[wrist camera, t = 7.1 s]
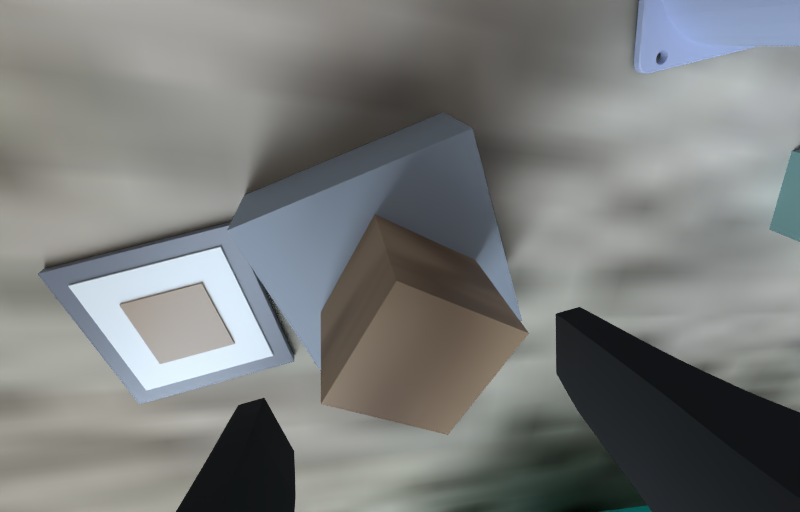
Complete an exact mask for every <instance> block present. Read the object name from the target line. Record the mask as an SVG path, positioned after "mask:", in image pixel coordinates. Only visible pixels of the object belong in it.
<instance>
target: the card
mask: <svg viewBox="0 0 800 512" xmlns="http://www.w3.org/2000/svg"><path fill="white" fill-rule="evenodd" d="M230 223H231V222H228V223H224V224H220V225H216V226H212V227H208V228H204V229H200V230H196V231H192V232H188V233H184V234H181V235H177V236H173V237H169V238H165V239H161V240H157V241H153V242H149V243H145V244H141V245H137V246H133V247H129V248H125V249H121V250H117V251H113V252H109V253H105V254H101V255H97V256H93V257H90V258H86V259H82V260H78V261H74V262H70V263H66V264H62V265H58V266H54V267H50V268H46V269H43V270H42V271H41V272H39V273H38V275H39V276H40V278H41V279H42V280H43V281H44V283H45V284H46V285H47V287H48V288H49V289H50V290H51V292H52V293H53V294H54V296H55V297H56V298H57V299H58V301H59V302H60V303H61V305H62V306H63V307H64V308H65V310H66V311H67V312H68V314H69V315H70V316H71V317H72V319H73V320H74V321H75V323H76V324H77V325H78V326H79V328H80V329H81V330H82V332H83V333H84V334H85V335H86V337H87V338H88V339H89V340H90V342H91V343H92V344H93V346H94V347H95V348H96V349H97V351H98V352H99V353H100V355H101V356H102V357H103V358H104V360H105V361H106V362H107V364H108V365H109V366H110V367H111V369H112V370H113V371H114V373H115V374H116V375H117V376H118V378H119V379H120V380H121V382H122V383H123V384H124V385H125V387H126V388H127V389H128V391H129V392H130V393H131V394H132V396H133V397H134V398H135V399H136V401H137V402H138V403H139V404H142V403H146V402H149V401H153V400H157V399H160V398H164V397H167V396H171V395H175V394H178V393H182V392H186V391H189V390H193V389H196V388H200V387H204V386H207V385H211V384H214V383H218V382H222V381H225V380H229V379H233V378H236V377H240V376H243V375H247V374H251V373H254V372H258V371H261V370H265V369H269V368H272V367H276V366H280V365H283V364H287V363H290V362H294V354H293V352H292V350H291V348H290V345H289V343H288V341H287V339H286V336H285V334H284V332H283V330H282V328H281V325H280V323H279V321H278V319H277V316H276V314H275V312H274V310H273V308H272V305H271V303H270V301H269V299H268V296H267V294H266V292H265V290H264V287H263V285H262V283H261V281H260V279H259V278H258V276H257V275H256V273H255V272H254V270H253V269H252V267H251V266H250V264H249V263H248V261H247V260H246V258H245V257H244V255H243V254H242V252H241V251H240V249H239V248H238V246H237V245H236V243H235V242H234V240H233V239H232V237H231V236H230V234H229V233H228V231H227V229H228V227H229V225H230Z"/></svg>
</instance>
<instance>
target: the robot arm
mask: <svg viewBox="0 0 800 512" xmlns="http://www.w3.org/2000/svg"><path fill="white" fill-rule="evenodd" d="M758 46H800V0H639V8H638V19H637V31H636V42H635V54H634V68H635V70H636V71H637V72H639V73H652V72H656V71H660V70H664V69H668V68H672V67H676V66H680V65H684V64H688V63H692V62H697V61H701V60H705V59H709V58H713V57H717V56H721V55H725V54H729V53H733V52H737V51H741V50H745V49H749V48H753V47H758ZM659 52H660V53H661V57H660V60H659V61H658V62H657V63H656V57H657V55H658V54H659ZM556 371H557V375H558V377H559V379H560V380H561V382H562V384H563V386H564V388H565V389H566V391H567V393H568V395H569V396H570V398H571V400H572V401H573V403H574V405H575V407H576V408H577V410H578V412H579V413H580V414H581V416H582V417H583V418H584V420H585V421H586V423H587V424H588V425H589V427H590V428H591V429H592V431H593V432H594V434H595V435H596V436H597V438H598V439H599V440H600V442H601V443H602V444H603V446H604V447H605V449H606V450H607V451H608V453H609V454H610V455H611V457H612V458H613V459H614V461H615V462H616V463H617V465H618V466H619V467H620V469H621V470H622V471H623V473H624V474H625V475H626V477H627V478H628V480H629V481H630V482H631V484H632V485H633V486H634V488H635V489H636V490H637V492H638V493H639V494H640V496H641V497H642V498H643V500H644V501H645V503H646V504H647V506H648V507H649V509H650V510H651V511H652V512H800V413H799V412H797V411H794V410H792V409H789V408H787V407H784V406H782V405H779V404H777V403H774V402H772V401H769V400H767V399H764V398H762V397H759V396H757V395H755V394H752V393H750V392H748V391H745V390H743V389H741V388H739V387H736V386H734V385H732V384H730V383H728V382H725V381H723V380H721V379H719V378H717V377H715V376H712V375H710V374H708V373H706V372H704V371H702V370H699V369H697V368H695V367H693V366H691V365H689V364H687V363H685V362H683V361H681V360H679V359H677V358H675V357H673V356H671V355H669V354H667V353H665V352H663V351H661V350H659V349H657V348H655V347H653V346H651V345H650V344H648V343H646V342H644V341H642V340H640V339H638V338H636V337H634V336H633V335H631V334H629V333H627V332H625V331H623V330H621V329H620V328H618V327H616V326H614V325H612V324H610V323H609V322H607V321H605V320H603V319H601V318H599V317H597V316H596V315H594V314H592V313H590V312H588V311H586V310H584V309H582V308H580V307H578V308H574V309H571V310H567V311H564V312H560V313H557V314H556ZM294 509H295V465H294V450H293V449H292V447H291V445H290V443H289V441H288V440H287V438H286V436H285V434H284V432H283V431H282V429H281V427H280V425H279V423H278V422H277V420H276V418H275V416H274V414H273V413H272V411H271V409H270V407H269V405H268V404H267V402H266V400H265V398H262V399H258V400H255V401H251V402H248V403H244V404H241V405H238V407H237V409H236V410H235V412H234V414H233V415H232V417H231V419H230V420H229V422H228V424H227V426H226V427H225V429H224V431H223V433H222V434H221V436H220V438H219V440H218V441H217V443H216V445H215V447H214V448H213V450H212V452H211V453H210V455H209V457H208V459H207V460H206V462H205V464H204V466H203V467H202V469H201V471H200V472H199V474H198V476H197V477H196V479H195V481H194V482H193V484H192V486H191V487H190V489H189V491H188V493H187V494H186V496H185V498H184V499H183V501H182V503H181V504H180V506H179V507H178V509H177V511H176V512H294Z"/></svg>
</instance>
